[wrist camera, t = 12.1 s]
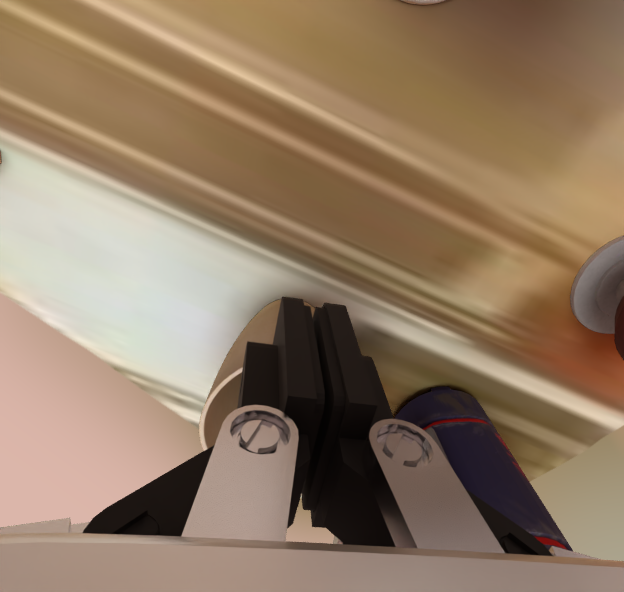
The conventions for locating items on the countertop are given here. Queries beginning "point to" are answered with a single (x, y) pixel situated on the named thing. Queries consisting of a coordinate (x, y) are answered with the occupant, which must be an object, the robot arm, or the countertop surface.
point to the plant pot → (235, 373)
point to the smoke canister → (482, 459)
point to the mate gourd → (602, 292)
